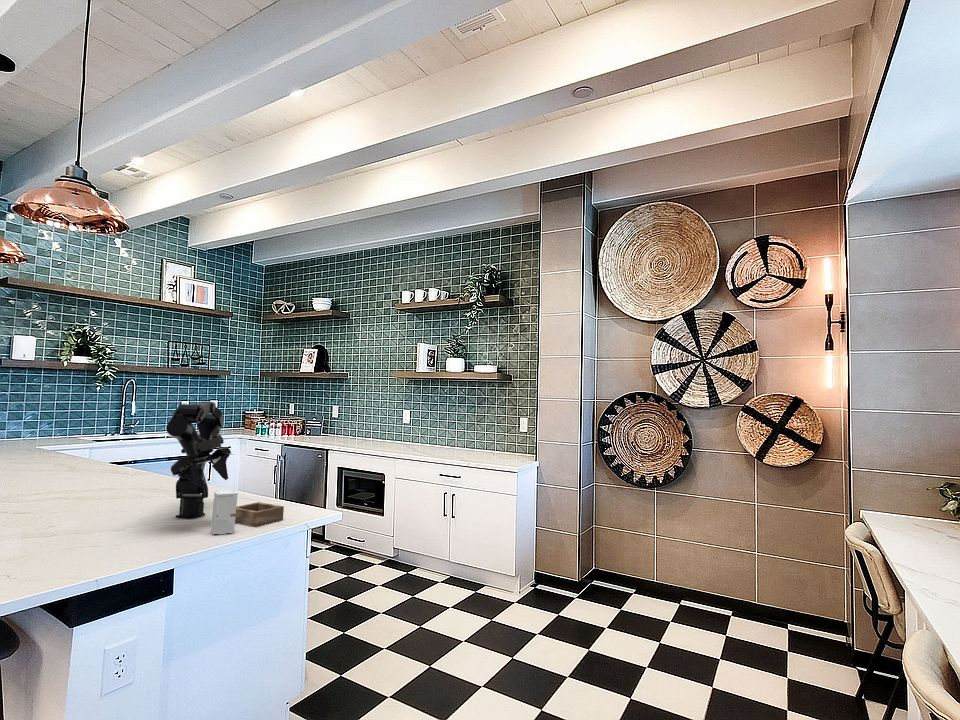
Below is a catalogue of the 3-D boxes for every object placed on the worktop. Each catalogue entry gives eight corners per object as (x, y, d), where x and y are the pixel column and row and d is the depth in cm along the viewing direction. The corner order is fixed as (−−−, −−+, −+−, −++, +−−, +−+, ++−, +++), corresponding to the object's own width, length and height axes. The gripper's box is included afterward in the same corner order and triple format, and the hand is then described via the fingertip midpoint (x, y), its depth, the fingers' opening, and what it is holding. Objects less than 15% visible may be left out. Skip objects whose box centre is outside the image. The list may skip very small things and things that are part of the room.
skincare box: (212, 535, 159) (215, 494, 160) (210, 532, 163) (213, 491, 164) (235, 533, 163) (238, 492, 163) (232, 530, 166) (235, 490, 167)
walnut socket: (229, 522, 176) (230, 507, 176) (257, 515, 186) (258, 502, 186) (255, 527, 171) (256, 512, 171) (282, 520, 181) (283, 506, 182)
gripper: (180, 432, 160) (206, 476, 157) (229, 422, 177) (253, 462, 175) (159, 453, 163) (184, 496, 160) (208, 441, 180) (232, 480, 178)
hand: (215, 483), depth 168 cm, fingers open, 9 cm apart
